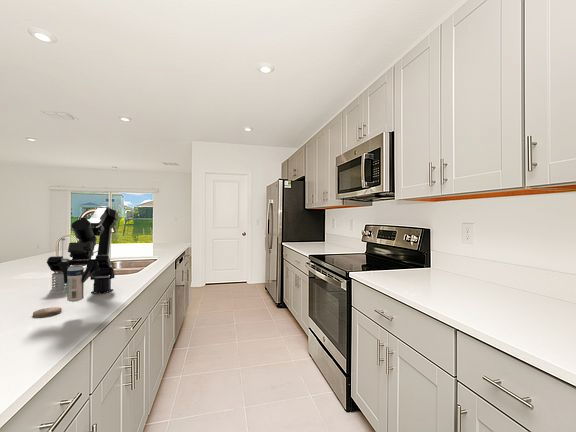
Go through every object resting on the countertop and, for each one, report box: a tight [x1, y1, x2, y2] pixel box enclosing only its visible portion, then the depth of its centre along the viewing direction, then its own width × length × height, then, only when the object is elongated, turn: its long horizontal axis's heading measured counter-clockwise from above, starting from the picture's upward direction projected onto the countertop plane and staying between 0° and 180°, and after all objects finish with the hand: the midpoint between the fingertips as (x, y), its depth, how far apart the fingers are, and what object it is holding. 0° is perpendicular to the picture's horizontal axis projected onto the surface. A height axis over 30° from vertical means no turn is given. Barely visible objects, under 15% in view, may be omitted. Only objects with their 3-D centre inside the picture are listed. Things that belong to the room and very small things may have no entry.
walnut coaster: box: [32, 306, 63, 318], centre depth 103 cm, size 8×8×1 cm
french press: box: [48, 237, 71, 294], centre depth 135 cm, size 10×12×25 cm
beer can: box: [66, 265, 85, 303], centre depth 101 cm, size 5×5×12 cm
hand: (74, 282), depth 100 cm, fingers closed on beer can, 5 cm apart
